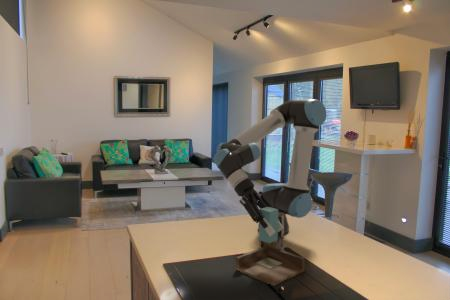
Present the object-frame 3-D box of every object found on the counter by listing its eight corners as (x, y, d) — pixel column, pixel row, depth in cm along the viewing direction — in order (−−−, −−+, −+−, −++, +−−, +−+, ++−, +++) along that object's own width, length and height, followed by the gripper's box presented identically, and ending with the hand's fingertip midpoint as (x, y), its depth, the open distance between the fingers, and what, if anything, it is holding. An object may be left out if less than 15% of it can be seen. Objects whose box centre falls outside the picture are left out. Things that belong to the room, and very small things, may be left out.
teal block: (267, 236, 149) (268, 206, 147) (277, 240, 145) (278, 209, 144) (258, 239, 145) (259, 209, 144) (269, 243, 142) (269, 211, 140)
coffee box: (284, 249, 164) (285, 212, 162) (281, 254, 158) (282, 216, 156) (263, 246, 167) (264, 210, 165) (259, 251, 160) (260, 214, 159)
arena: (267, 257, 155) (267, 245, 154) (304, 270, 142) (304, 258, 142) (235, 270, 143) (236, 257, 142) (273, 286, 130) (274, 272, 129)
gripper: (248, 185, 160) (282, 231, 152) (221, 193, 145) (257, 244, 137) (259, 174, 156) (294, 220, 148) (233, 181, 141) (271, 233, 133)
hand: (276, 232), depth 142 cm, fingers closed on teal block, 6 cm apart
